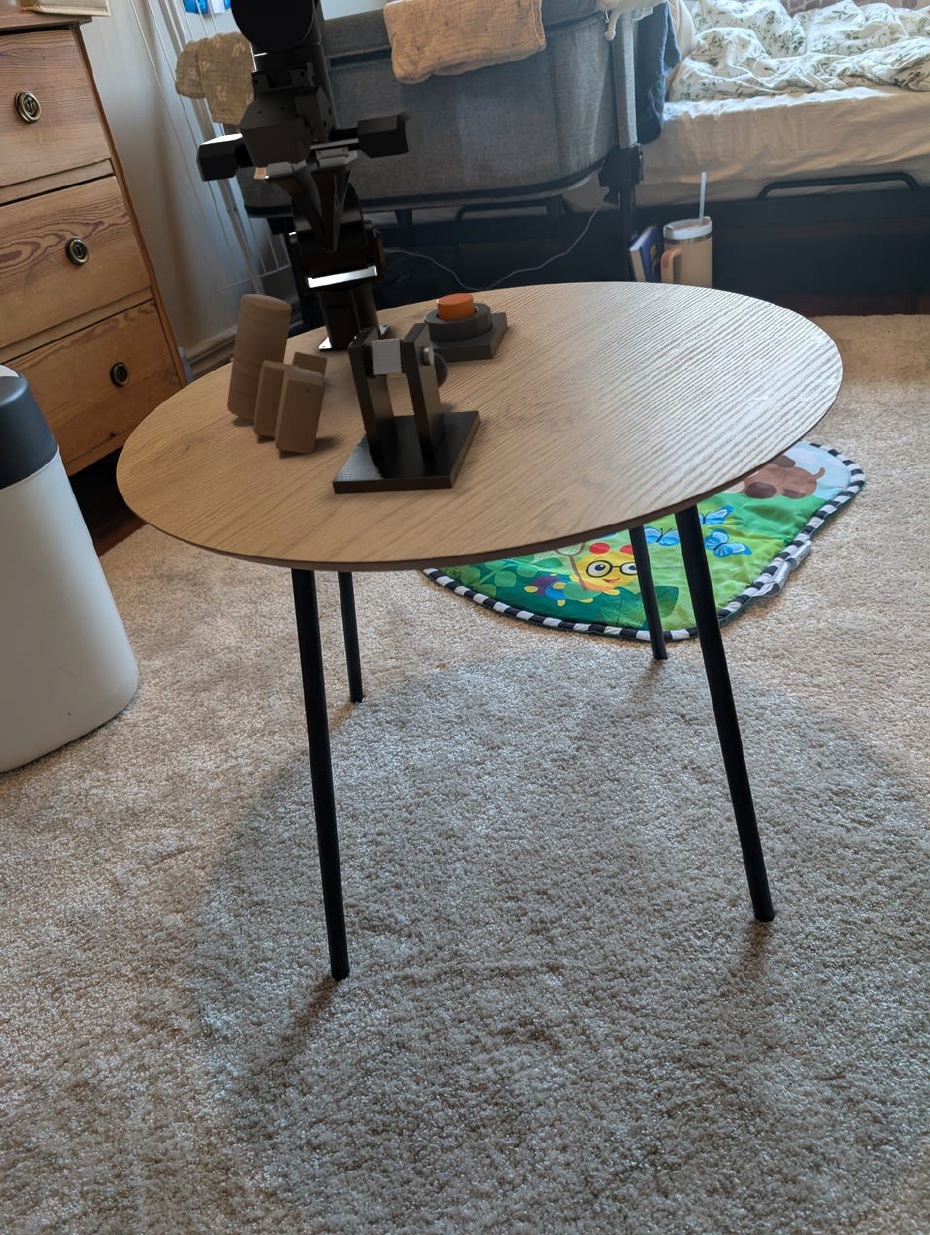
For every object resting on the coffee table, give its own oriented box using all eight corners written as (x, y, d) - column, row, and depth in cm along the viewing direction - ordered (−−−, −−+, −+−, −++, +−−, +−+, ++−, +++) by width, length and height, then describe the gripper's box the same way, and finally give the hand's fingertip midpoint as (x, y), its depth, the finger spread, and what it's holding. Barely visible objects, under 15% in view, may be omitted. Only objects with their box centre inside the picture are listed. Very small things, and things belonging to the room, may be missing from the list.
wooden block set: (330, 477, 75) (354, 359, 70) (224, 460, 73) (241, 336, 67) (316, 397, 90) (335, 294, 84) (227, 381, 87) (241, 274, 82)
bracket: (377, 430, 76) (352, 314, 71) (480, 423, 74) (463, 303, 69) (335, 496, 67) (302, 369, 61) (452, 491, 65) (429, 358, 59)
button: (443, 312, 91) (441, 295, 90) (478, 309, 91) (475, 291, 90) (436, 323, 89) (433, 305, 88) (471, 320, 88) (469, 302, 87)
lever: (417, 393, 78) (415, 355, 77) (453, 390, 77) (451, 352, 76) (366, 381, 65) (363, 335, 65) (409, 377, 64) (406, 331, 64)
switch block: (434, 334, 96) (429, 301, 94) (508, 328, 94) (503, 294, 92) (413, 367, 88) (406, 332, 86) (492, 361, 86) (487, 325, 84)
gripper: (137, 77, 68) (201, 287, 77) (369, 37, 64) (409, 264, 73) (199, 64, 77) (250, 253, 86) (406, 28, 73) (438, 231, 81)
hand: (331, 251), depth 81 cm, fingers closed
